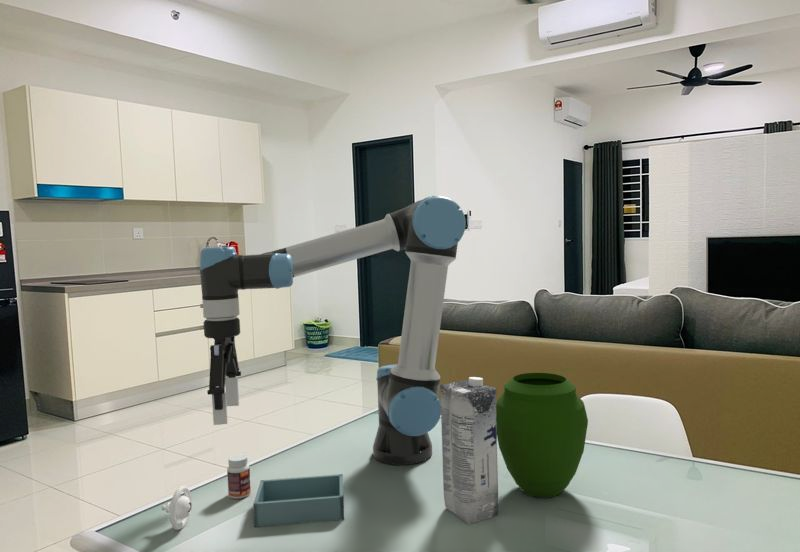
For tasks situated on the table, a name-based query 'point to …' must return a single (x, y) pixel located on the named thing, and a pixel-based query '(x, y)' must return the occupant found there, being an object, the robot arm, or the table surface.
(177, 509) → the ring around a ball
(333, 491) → the bin
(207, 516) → the table surface
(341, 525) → the table surface
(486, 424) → the juice carton
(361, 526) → the table surface
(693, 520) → the table surface
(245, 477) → the pill bottle
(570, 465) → the vase
